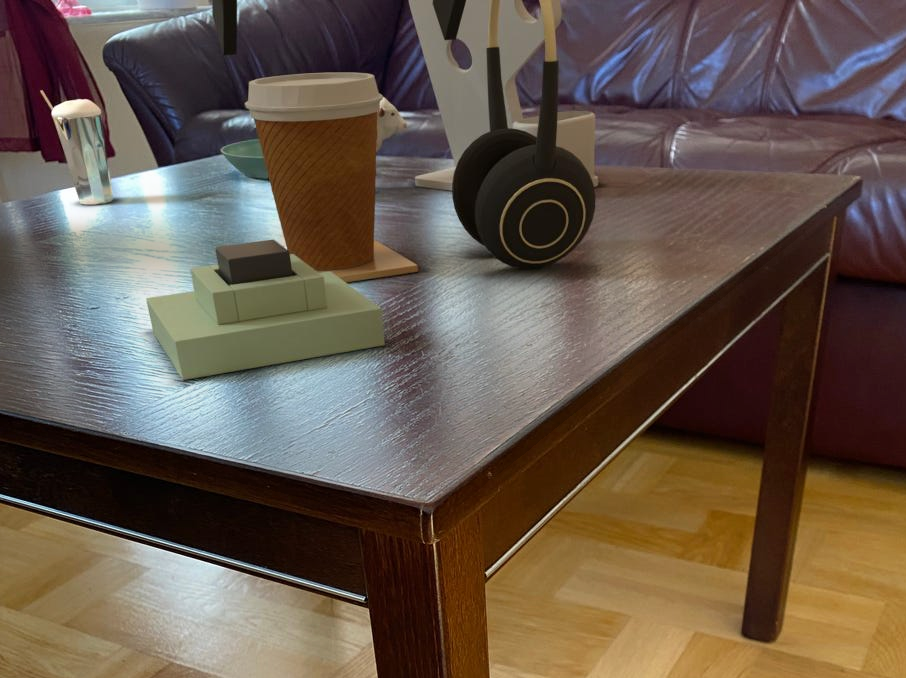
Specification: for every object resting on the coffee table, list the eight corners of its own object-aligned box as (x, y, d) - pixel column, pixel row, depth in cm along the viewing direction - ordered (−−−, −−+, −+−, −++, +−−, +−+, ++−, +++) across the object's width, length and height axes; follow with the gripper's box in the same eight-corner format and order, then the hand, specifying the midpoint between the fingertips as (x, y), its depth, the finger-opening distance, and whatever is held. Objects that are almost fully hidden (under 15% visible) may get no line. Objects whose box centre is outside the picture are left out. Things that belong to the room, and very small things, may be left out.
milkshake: (78, 197, 105) (52, 87, 99) (127, 196, 104) (104, 86, 99) (57, 206, 101) (28, 93, 96) (108, 206, 100) (82, 91, 95)
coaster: (251, 261, 79) (250, 255, 79) (373, 245, 82) (372, 238, 82) (285, 291, 71) (284, 284, 71) (418, 271, 75) (417, 264, 74)
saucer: (248, 189, 105) (244, 161, 104) (208, 170, 116) (203, 144, 115) (378, 172, 111) (376, 145, 109) (328, 155, 122) (325, 130, 120)
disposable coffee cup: (286, 283, 71) (260, 89, 65) (255, 255, 79) (228, 78, 72) (413, 264, 74) (400, 78, 68) (372, 239, 82) (356, 68, 75)
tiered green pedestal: (153, 333, 64) (139, 268, 62) (334, 304, 68) (327, 242, 66) (182, 380, 57) (167, 308, 55) (385, 345, 61) (379, 276, 58)
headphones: (492, 290, 70) (481, -65, 59) (444, 243, 82) (429, -58, 71) (610, 277, 71) (622, -70, 60) (547, 233, 83) (547, -63, 72)
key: (219, 277, 61) (214, 246, 60) (278, 268, 63) (273, 238, 62) (233, 290, 59) (228, 259, 58) (293, 282, 60) (289, 251, 59)
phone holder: (606, 184, 100) (613, -35, 90) (543, 202, 94) (543, -31, 84) (473, 169, 110) (466, -30, 100) (408, 185, 104) (393, -26, 94)
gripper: (90, -329, 37) (139, 98, 57) (688, -306, 44) (545, 66, 64) (45, -488, 38) (109, -15, 58) (635, -441, 45) (510, -34, 65)
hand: (337, 28), depth 61 cm, fingers open, 13 cm apart
